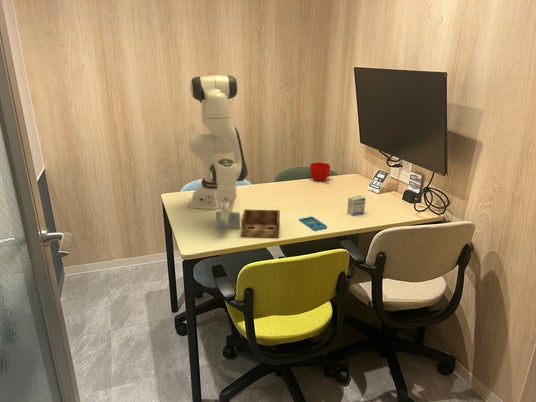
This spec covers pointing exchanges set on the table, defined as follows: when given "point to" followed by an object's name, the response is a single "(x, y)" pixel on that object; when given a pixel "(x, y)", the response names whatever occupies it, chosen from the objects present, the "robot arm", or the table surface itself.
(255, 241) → the table surface
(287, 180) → the table surface
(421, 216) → the table surface
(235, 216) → the door
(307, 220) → the handheld gaming device
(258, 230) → the wooden box
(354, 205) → the medicine box
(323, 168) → the ceramic cup
